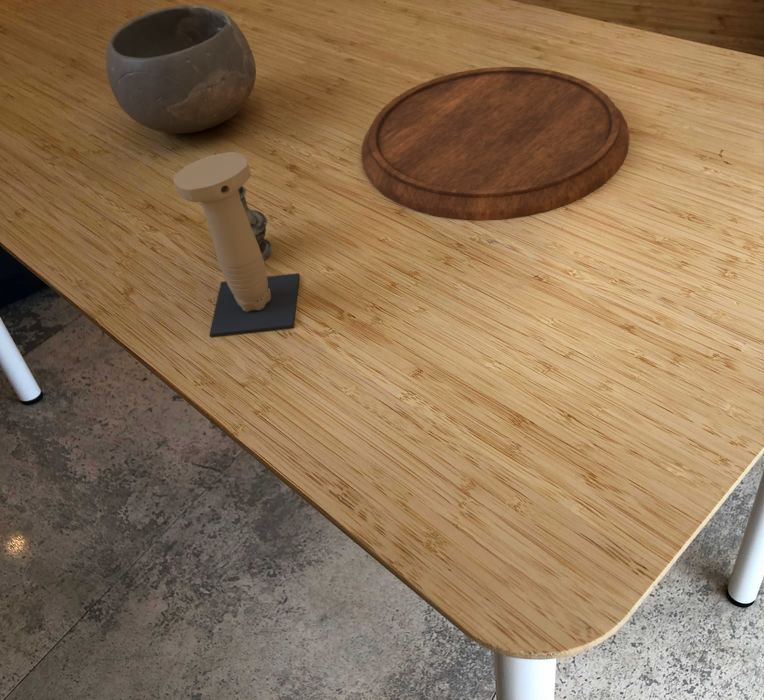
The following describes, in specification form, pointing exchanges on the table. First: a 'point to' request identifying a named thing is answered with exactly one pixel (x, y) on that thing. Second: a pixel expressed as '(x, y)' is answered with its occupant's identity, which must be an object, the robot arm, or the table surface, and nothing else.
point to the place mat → (271, 317)
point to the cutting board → (495, 143)
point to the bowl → (180, 68)
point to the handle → (228, 223)
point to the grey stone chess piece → (256, 225)
